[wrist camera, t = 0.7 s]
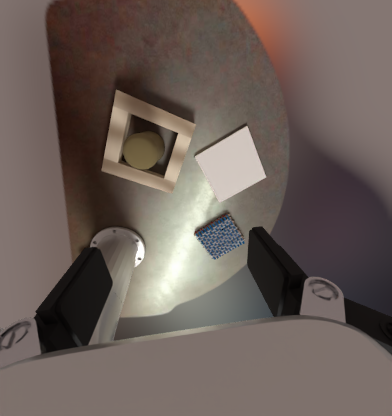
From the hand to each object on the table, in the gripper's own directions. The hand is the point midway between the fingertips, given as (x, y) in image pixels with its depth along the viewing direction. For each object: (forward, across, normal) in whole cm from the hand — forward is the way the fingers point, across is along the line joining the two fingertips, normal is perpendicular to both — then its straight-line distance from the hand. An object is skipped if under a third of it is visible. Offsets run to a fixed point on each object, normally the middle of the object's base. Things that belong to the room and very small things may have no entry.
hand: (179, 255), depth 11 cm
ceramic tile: (+28, -12, +1) cm, 31 cm away
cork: (+28, +5, -4) cm, 29 cm away
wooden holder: (+28, +5, -4) cm, 29 cm away
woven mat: (+29, -9, +19) cm, 36 cm away
